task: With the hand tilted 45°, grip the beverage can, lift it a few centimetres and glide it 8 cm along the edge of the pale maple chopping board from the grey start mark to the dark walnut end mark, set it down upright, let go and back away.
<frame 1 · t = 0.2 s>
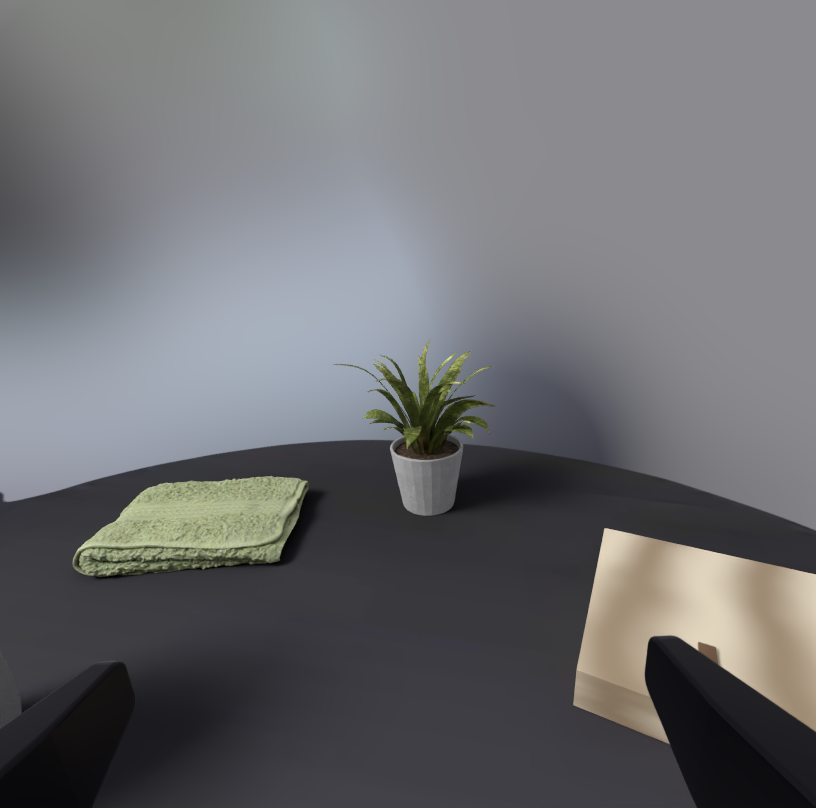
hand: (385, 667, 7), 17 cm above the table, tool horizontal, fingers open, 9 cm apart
house plant: (417, 507, 44), on the table
chopping board: (779, 674, 25), on the table
washcloth: (209, 534, 42), on the table
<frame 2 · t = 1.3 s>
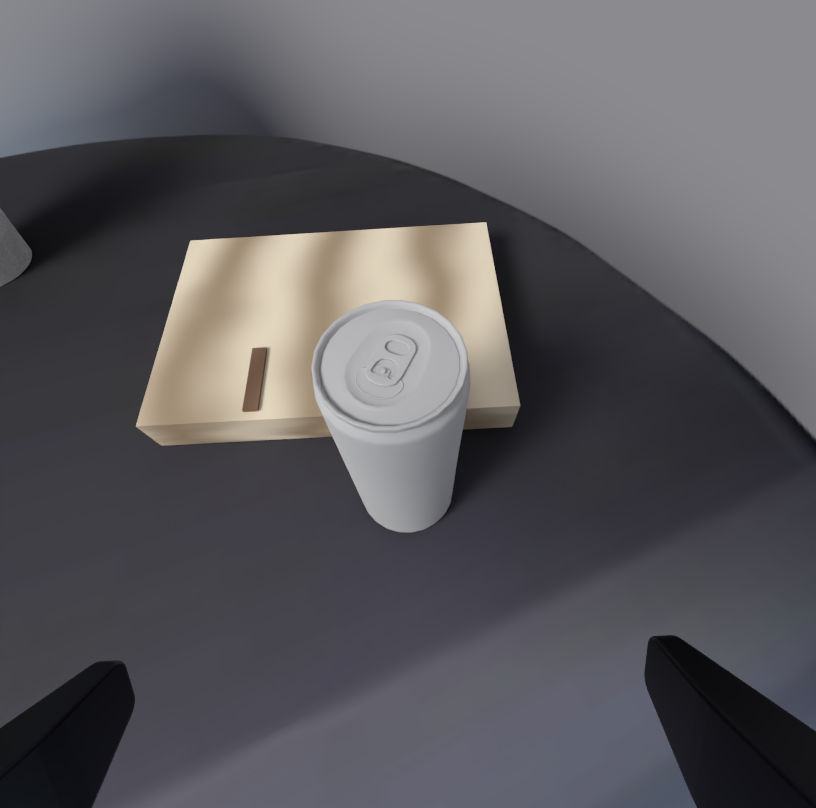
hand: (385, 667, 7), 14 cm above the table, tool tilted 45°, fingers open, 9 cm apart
beverage can: (407, 490, 23), on the table
chopping board: (340, 337, 28), on the table
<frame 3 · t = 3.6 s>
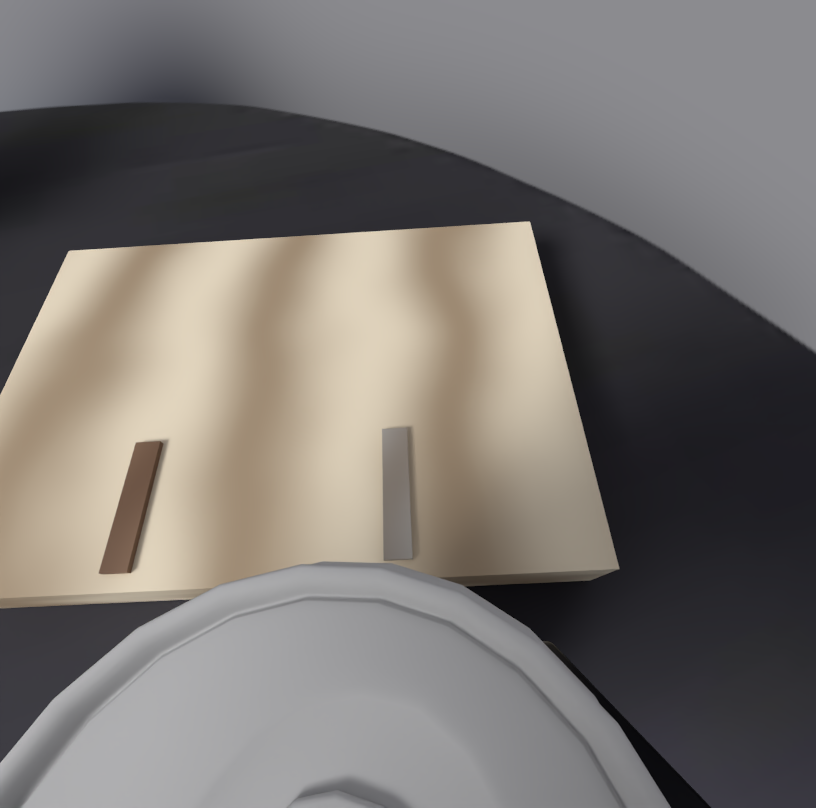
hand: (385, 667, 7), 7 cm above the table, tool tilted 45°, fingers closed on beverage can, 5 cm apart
beverage can: (407, 711, 13), on the table, touching gripper
chopping board: (298, 406, 18), on the table
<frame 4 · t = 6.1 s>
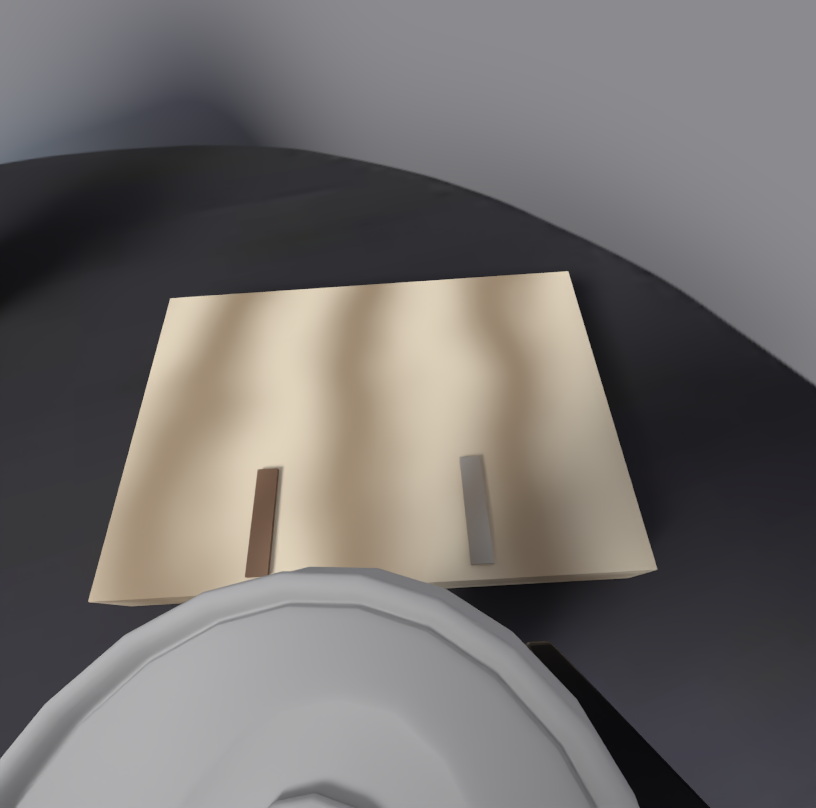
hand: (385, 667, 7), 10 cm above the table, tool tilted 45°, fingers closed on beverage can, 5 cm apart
beverage can: (417, 708, 13), point 3 cm above the table, touching gripper
chopping board: (375, 432, 21), on the table
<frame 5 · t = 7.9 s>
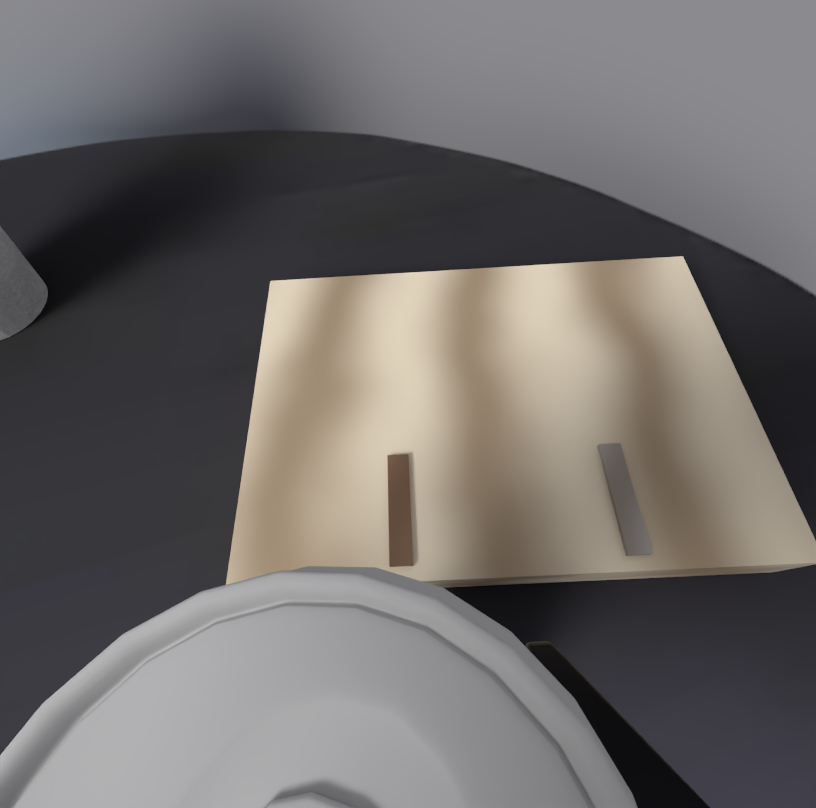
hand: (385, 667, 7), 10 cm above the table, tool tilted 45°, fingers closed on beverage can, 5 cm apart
beverage can: (417, 708, 13), point 3 cm above the table, touching gripper
chopping board: (486, 420, 20), on the table
when the fingers open (7 cm above the table, at t = 9.0 s): beverage can stays where it is, on the table.
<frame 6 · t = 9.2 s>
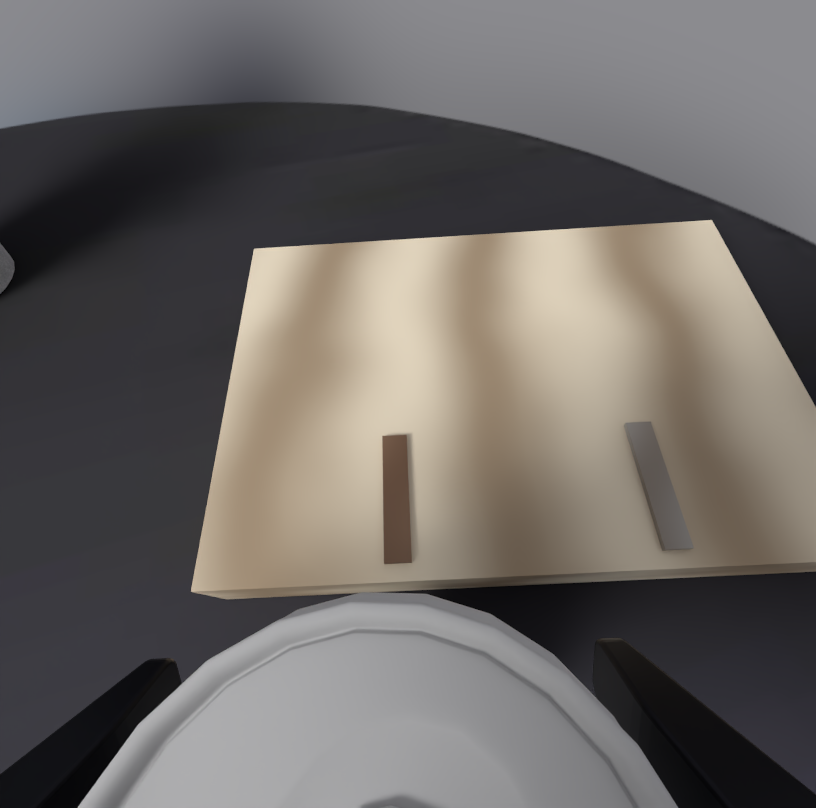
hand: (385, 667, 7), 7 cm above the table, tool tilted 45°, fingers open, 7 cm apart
beverage can: (419, 716, 13), on the table
chopping board: (494, 401, 18), on the table
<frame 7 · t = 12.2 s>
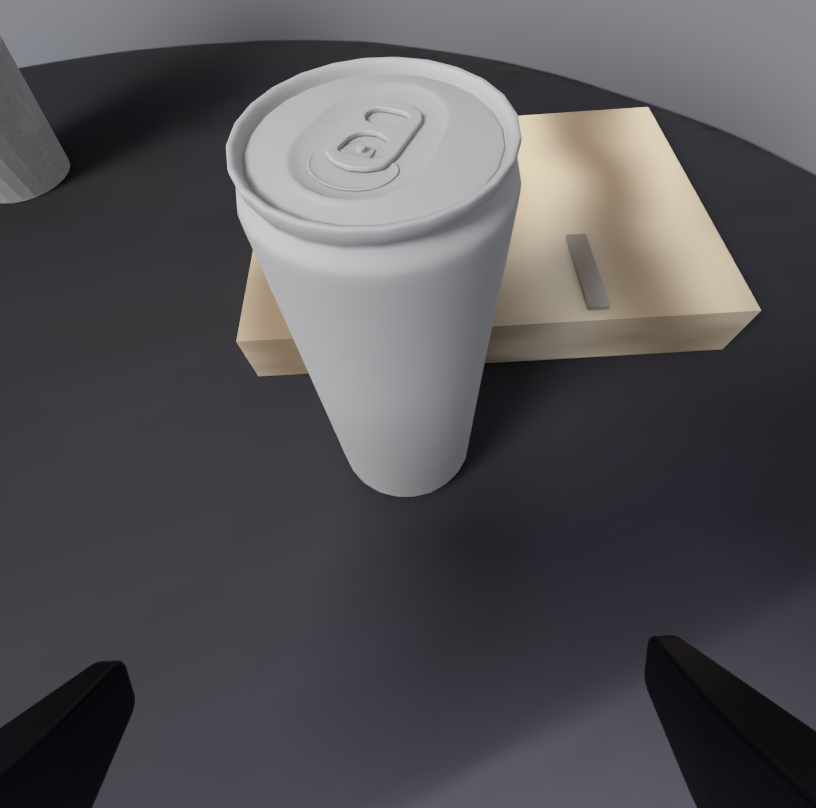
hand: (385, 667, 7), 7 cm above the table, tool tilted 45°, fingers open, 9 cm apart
house plant: (10, 191, 27), on the table
beverage can: (407, 444, 17), on the table
chopping board: (470, 248, 22), on the table
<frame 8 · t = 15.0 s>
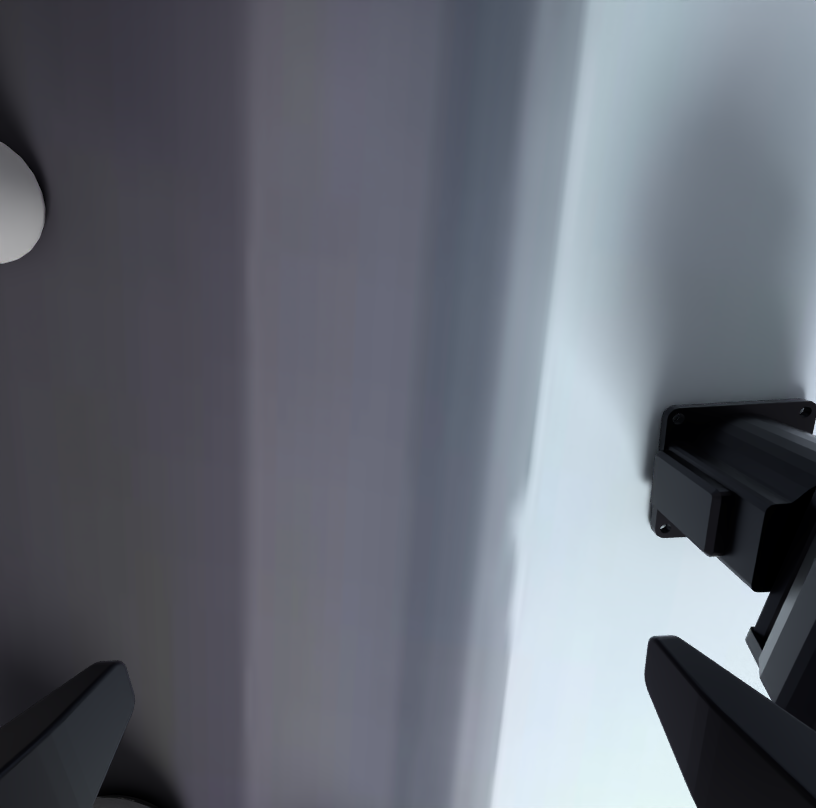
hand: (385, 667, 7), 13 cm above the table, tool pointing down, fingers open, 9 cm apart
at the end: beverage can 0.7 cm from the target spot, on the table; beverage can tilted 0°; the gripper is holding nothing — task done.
